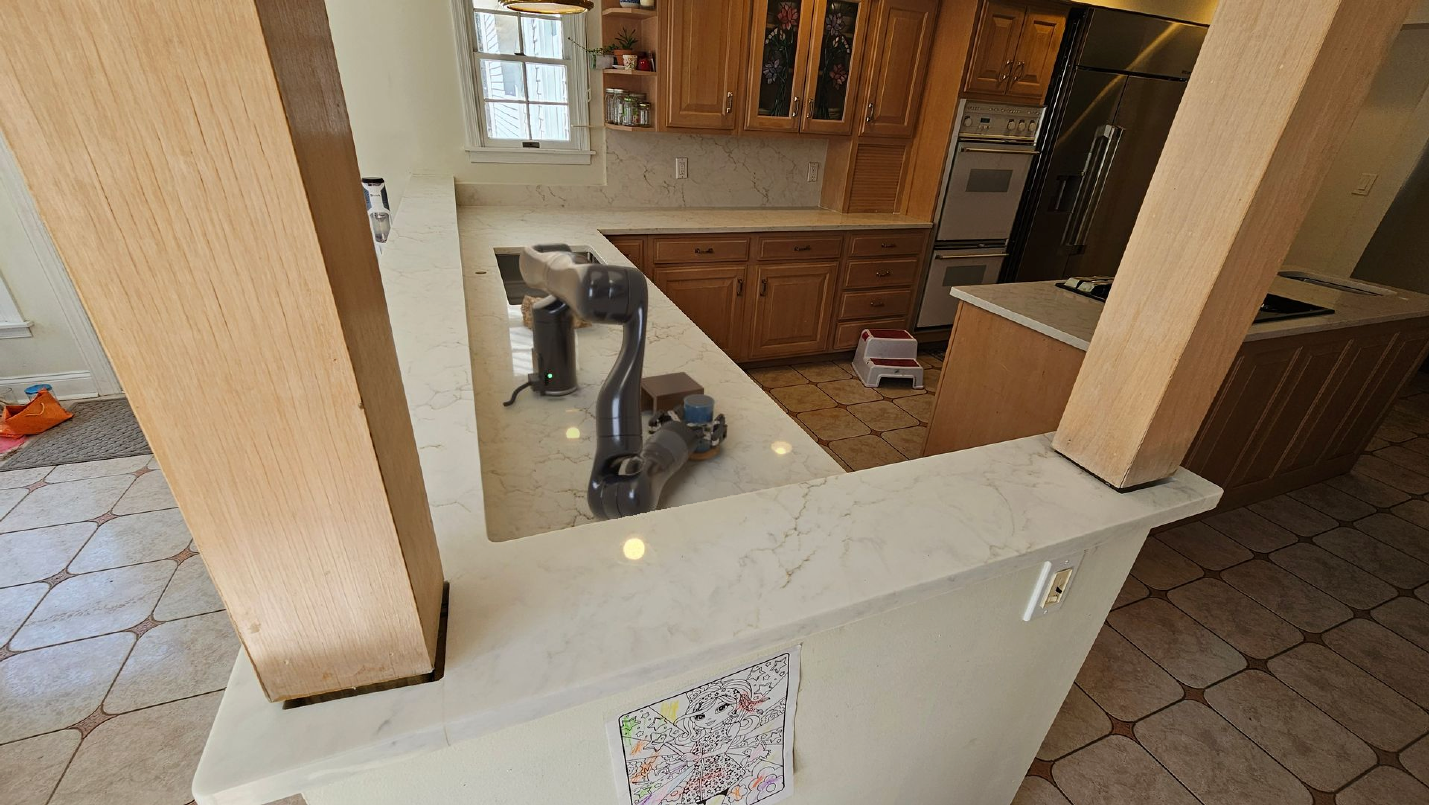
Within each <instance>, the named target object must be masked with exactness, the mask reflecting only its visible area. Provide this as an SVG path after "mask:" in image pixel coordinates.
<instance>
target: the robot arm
mask: <svg viewBox="0 0 1429 805" xmlns="http://www.w3.org/2000/svg"><path fill="white" fill-rule="evenodd" d="M518 261H519V262H518V266H519V271H520V274H521V277H522V279H523V281H524V282H525V284H526V285H527V286H528V287H530V288H531V289H538V290H542V291H543V292H545V293H547V294H548V295H547V296H545V297H542V298H543V299H541V300H539V301H537V302H535V303H534V304H533V305H532V306H531V318H532V330H531V331H532V346H533V347H531V350H530V351H531V362H532V372H531V373H527V382H525V383H523V384H521V385H520V386H518V387H517V388H515V389H514V391H513V392H512V393H511V397H510V399H509V400H508V401H504V402H502V405H503V408H506V407H510V406H511V405H513V404H514V403H515V402H516V399H517V396H518V394H520V393H521V392H522V391H523V390H525V389H526V388H529V387H530V388H531V391H532V392H538V394H539V396H565V395H568V394H571V393H574V392H575V391H576V390H577V389H578V377H577V350H576V331H575V330H576V329H575V325H574V313H575V314H576V316H578V317H579V318H580V319H581V320H583V321H585V322H588V323H592V325H607V326H609V325H610V326H622V341H621V342H622V343H621V348H620V350H619V353H618V355H617V358H616V360H615V362H614V364H613V366H612V368H611V370H610V371H609V373H608V374H607V376H606V378H605V380H604V382H603V384H602V386H601V388H600V390H599V392H598V395H597V399H596V401H595V402H596V404H595V434H596V435H595V436H596V448H595V452H594V458H593V463H592V468H591V472H590V476H589V481H588V485H587V490H586V500H587V501H586V502H587V505H588V508H589V511H590V512H591V515H593V517H595V518H596V520H598V521H603V522H606V521H605V520H610V519H618V518H622V517H625V516H633V515H637V514H640V513H647V512H650V511H654V512H655V511H656V510H657V506H658V503H659V500H660V496H661V494H662V491H663V489H664V485H665V484H666V483H667V482H668V481H669V480H670V478H671V477H672V476H673V475H674V474H676V473H677V472H678V471H679V470H680V469H681V468H682V466H684V464H685V463H686V462H687V461H688V459H689V457H690V456H691V455H692V453H693V452H694V451H695V449H696V447H697V446H698V445H700V444H702V443H707V444H710V448H711V449H716V448H717V447H718V446H719V447H720V445H721V444H723V441H725V440H726V439H727V437H728V424H727V423H726V416H725V414H723V413H719V414H718V415H717V416H716V417H715V418H714V421H712V422H707V421H702V422H697V423H694V422H688V421H685V420H680V419H679V418H681V417H682V416H683V405H679V406H677V407H675V408H674V409H673V410H672V411H668V413H664V411H663V410H659V411H658V412H657V413H656V414H655V415H654V416H653V415H652V417H650V418H649V420H648V424H647V427H648V428H647V432H648V434H649V435H651V436H649V437H648V438H647V439H646V440H645V442H644V436H643V434H644V433H643V416H642V415H643V414H642V412H641V384H642V378H643V371H644V361H645V352H646V340H647V339H646V338H647V326H648V316H649V315H648V314H649V288H648V283H647V278H646V276H645V274H644V272H643V271H642V270H641V269H639V268H637V267H632V266H625V265H615V264H607V263H593V262H592V261H591V260H590V259H589V258H588V257H586V256H584V255H582V254H580V253H576V252H573V251H572V248H571V247H570V246H569V245H568V244H567V243H564V242H554V243H552V242H551V243H550V242H549V243H533V244H527V245H526V246H524V247H523V249H521V252H520V254H519V260H518ZM664 422H666V423H664ZM663 423H664V424H663ZM662 424H663V425H662ZM701 427H703V431H702V429H701ZM711 427H713V430H712V431H710V428H711ZM625 461H627V462H626V464H625V467H624V474H621V473H620V470H621V468H622V464H623V463H624V462H625Z"/></svg>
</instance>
